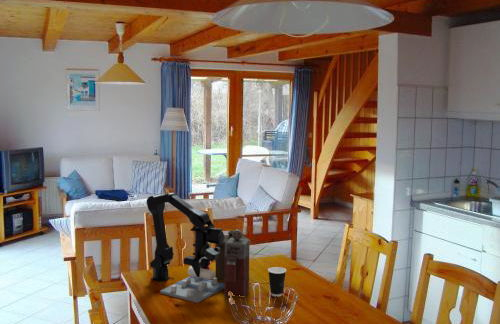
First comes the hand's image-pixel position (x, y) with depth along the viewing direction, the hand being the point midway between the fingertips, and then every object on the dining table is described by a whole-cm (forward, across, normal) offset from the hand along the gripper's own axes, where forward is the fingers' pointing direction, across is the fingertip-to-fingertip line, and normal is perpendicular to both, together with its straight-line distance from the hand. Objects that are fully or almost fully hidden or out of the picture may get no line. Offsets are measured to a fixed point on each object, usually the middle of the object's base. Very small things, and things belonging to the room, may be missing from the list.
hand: (201, 275), depth 224 cm
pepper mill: (+5, +18, +12) cm, 22 cm away
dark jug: (+5, +1, -18) cm, 19 cm away
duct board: (+5, -5, 0) cm, 7 cm away
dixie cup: (+5, +10, -33) cm, 35 cm away
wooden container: (+5, +20, -3) cm, 21 cm away
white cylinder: (-1, 0, 0) cm, 1 cm away
